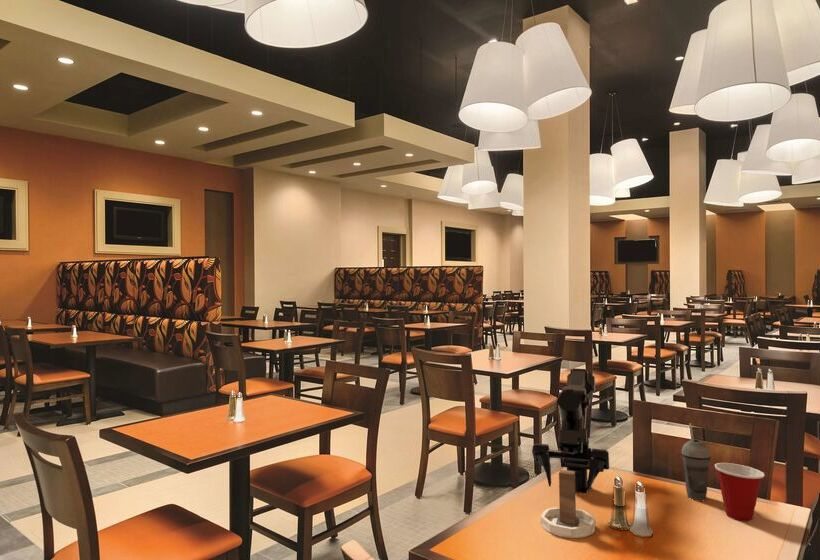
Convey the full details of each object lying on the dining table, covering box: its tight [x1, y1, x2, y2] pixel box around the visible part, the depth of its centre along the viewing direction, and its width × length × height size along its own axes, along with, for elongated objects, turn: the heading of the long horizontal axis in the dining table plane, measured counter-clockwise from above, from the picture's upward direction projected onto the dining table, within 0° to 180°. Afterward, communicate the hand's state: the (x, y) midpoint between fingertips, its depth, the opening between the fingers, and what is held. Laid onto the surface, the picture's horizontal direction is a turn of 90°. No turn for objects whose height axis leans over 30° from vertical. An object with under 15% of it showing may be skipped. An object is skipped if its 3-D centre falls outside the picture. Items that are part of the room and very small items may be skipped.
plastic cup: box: [714, 462, 766, 522], centre depth 137 cm, size 11×11×12 cm
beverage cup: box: [680, 423, 712, 502], centre depth 149 cm, size 7×7×20 cm
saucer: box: [540, 506, 596, 539], centre depth 133 cm, size 12×12×2 cm
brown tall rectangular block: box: [556, 469, 580, 528], centre depth 133 cm, size 5×5×12 cm
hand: (568, 488), depth 136 cm, fingers open, 9 cm apart
